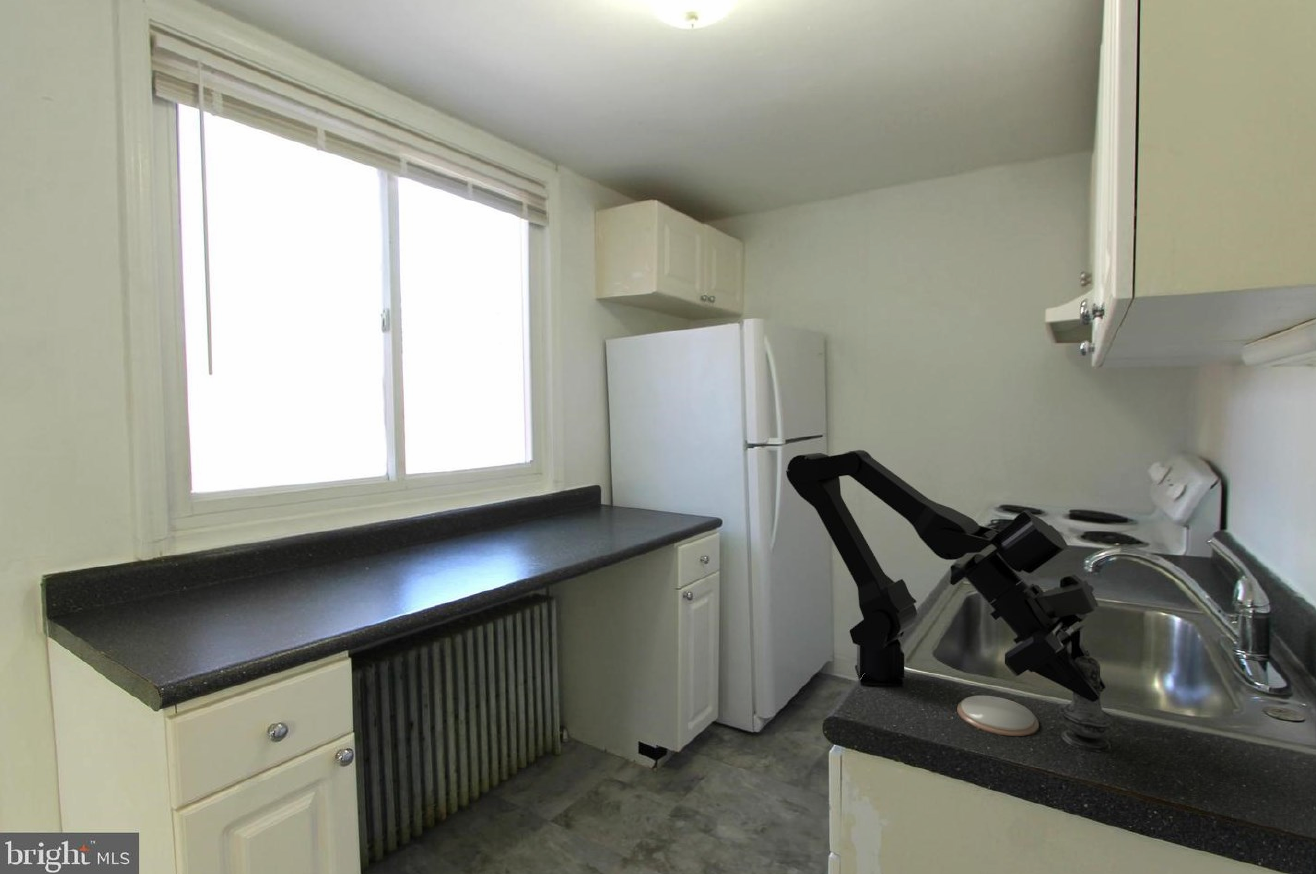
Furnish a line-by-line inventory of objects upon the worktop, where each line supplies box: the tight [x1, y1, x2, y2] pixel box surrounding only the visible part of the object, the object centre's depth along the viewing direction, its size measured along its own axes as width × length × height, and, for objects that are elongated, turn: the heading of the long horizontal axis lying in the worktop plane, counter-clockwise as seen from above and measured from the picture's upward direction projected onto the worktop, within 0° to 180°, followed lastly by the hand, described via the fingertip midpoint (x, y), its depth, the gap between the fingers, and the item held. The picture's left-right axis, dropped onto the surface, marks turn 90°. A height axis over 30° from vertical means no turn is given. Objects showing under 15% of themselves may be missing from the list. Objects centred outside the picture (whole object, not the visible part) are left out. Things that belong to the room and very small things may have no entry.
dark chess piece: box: [1058, 650, 1115, 753], centre depth 81 cm, size 6×6×12 cm
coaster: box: [956, 695, 1040, 737], centre depth 88 cm, size 10×10×1 cm
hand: (1099, 694), depth 80 cm, fingers closed on dark chess piece, 4 cm apart
